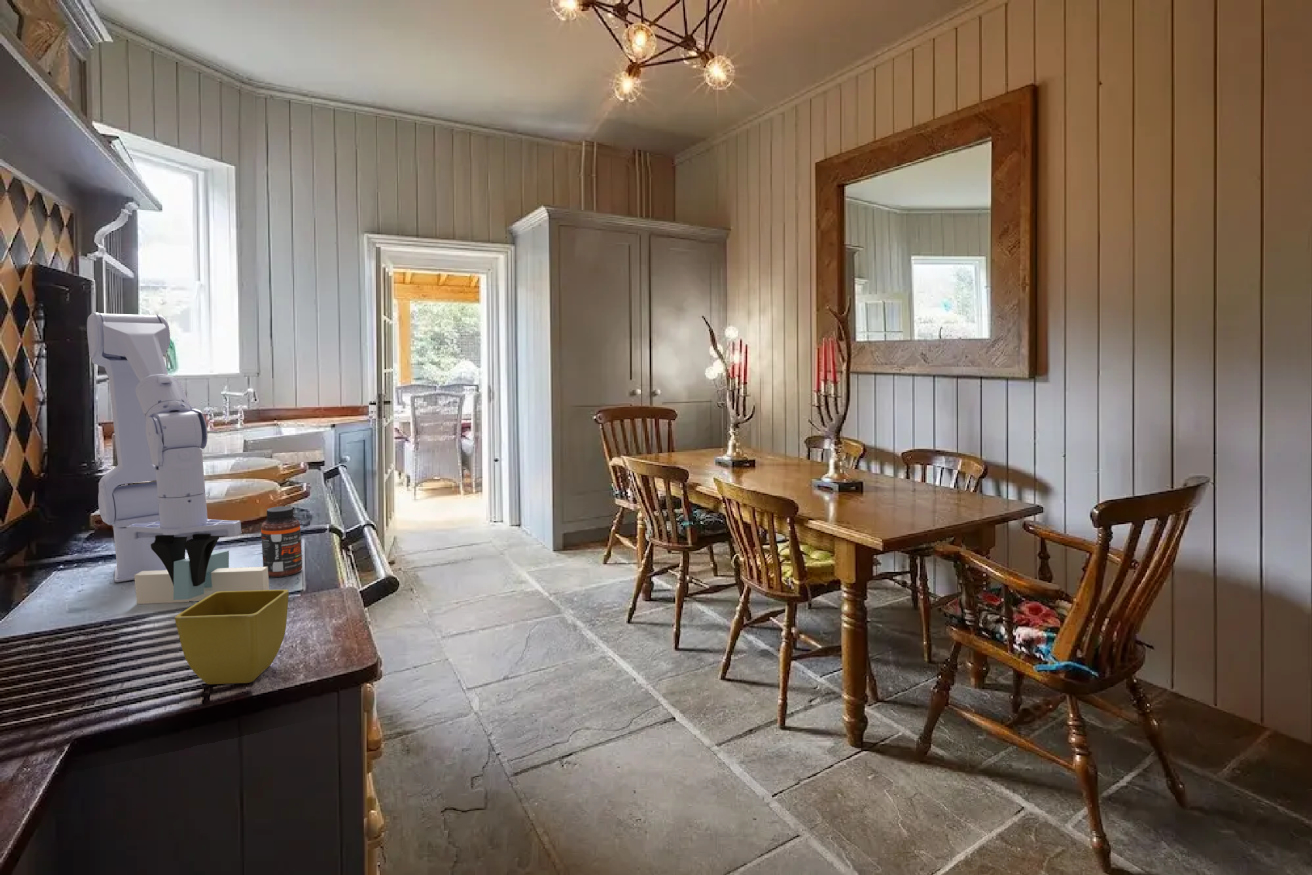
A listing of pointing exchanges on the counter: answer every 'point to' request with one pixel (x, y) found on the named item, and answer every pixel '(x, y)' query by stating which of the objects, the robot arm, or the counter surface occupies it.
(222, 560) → the teal notched block
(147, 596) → the cream rail
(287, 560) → the supplement bottle
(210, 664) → the flower pot
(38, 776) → the counter surface
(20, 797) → the counter surface
